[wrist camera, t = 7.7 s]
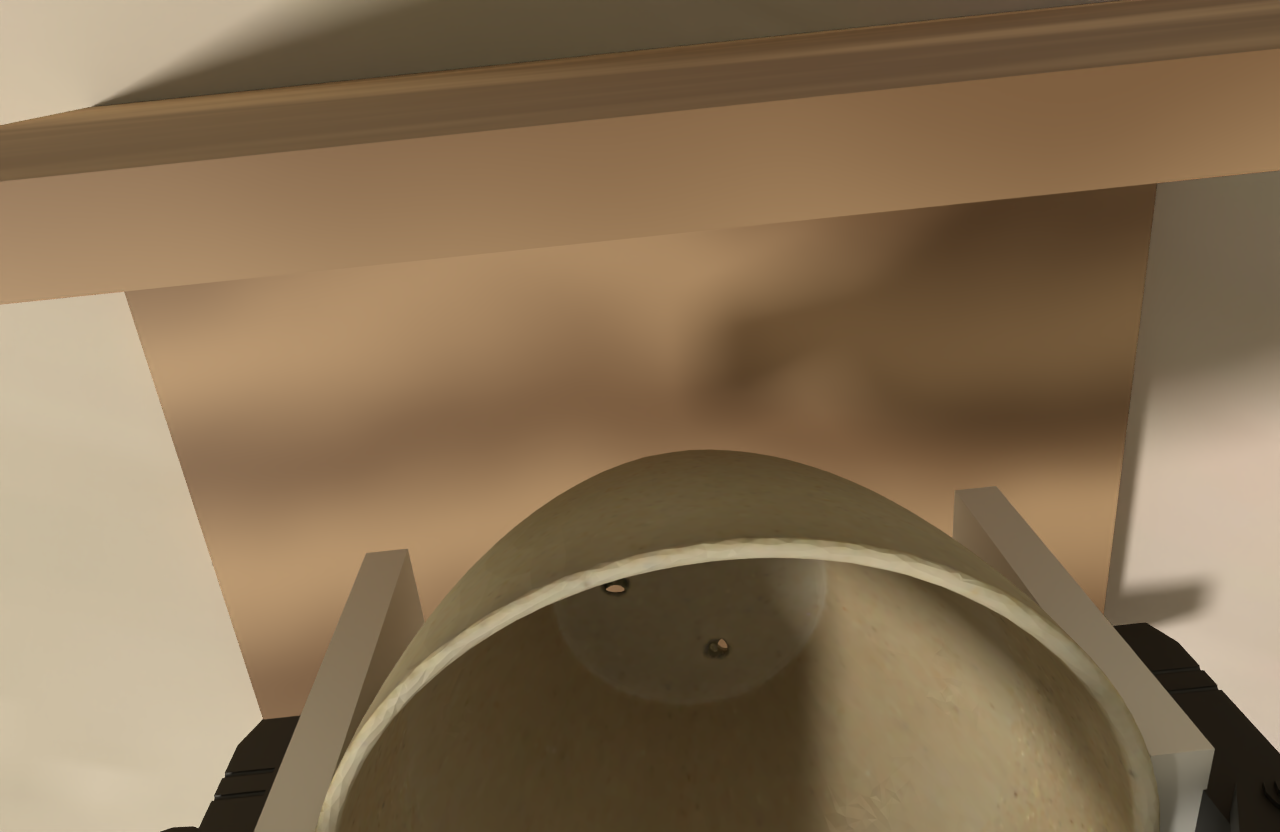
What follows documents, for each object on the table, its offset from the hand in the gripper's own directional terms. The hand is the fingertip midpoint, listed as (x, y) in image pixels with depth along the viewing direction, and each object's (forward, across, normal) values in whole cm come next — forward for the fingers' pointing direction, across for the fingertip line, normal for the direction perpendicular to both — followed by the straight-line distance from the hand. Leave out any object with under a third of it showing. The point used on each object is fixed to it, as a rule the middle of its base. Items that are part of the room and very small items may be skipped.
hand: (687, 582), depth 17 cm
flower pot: (0, 0, 0) cm, 0 cm away
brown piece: (+8, 0, 0) cm, 8 cm away
